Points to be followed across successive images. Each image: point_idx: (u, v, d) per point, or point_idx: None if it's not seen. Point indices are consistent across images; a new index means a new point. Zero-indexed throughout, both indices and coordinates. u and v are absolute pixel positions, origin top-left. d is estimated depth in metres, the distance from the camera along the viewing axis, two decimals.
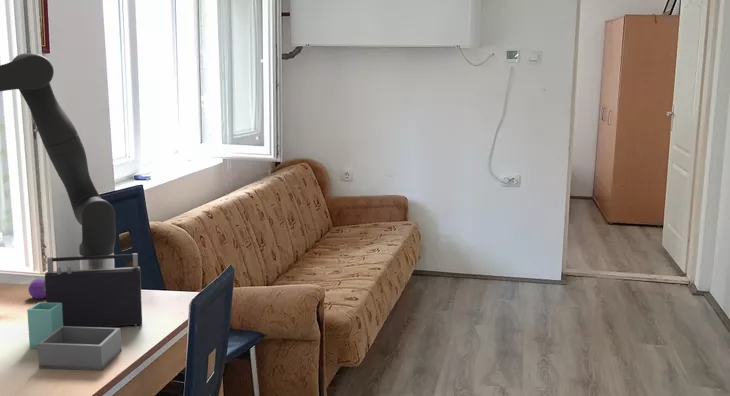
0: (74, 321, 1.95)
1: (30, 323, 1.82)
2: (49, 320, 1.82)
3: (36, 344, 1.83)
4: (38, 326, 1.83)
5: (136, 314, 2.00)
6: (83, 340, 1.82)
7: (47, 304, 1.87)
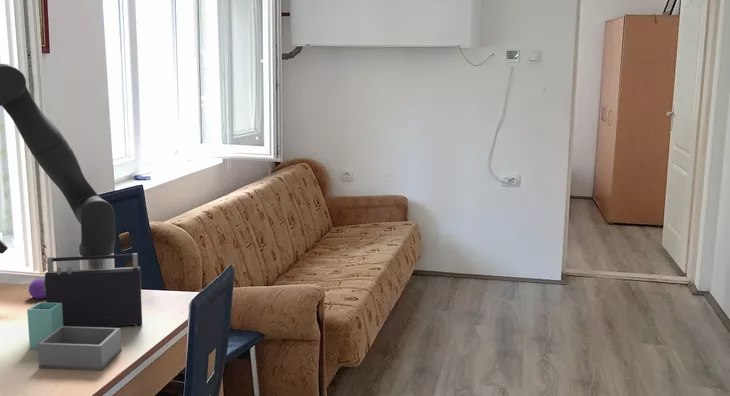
0: (74, 321, 1.95)
1: (30, 323, 1.82)
2: (49, 320, 1.82)
3: (36, 344, 1.83)
4: (38, 326, 1.83)
5: (136, 314, 2.00)
6: (83, 340, 1.82)
7: (47, 304, 1.87)
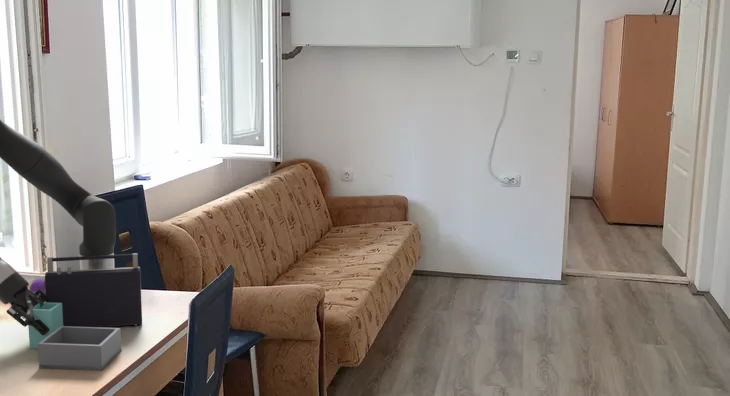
0: (74, 321, 1.95)
1: None
2: (49, 320, 1.82)
3: (36, 344, 1.83)
4: None
5: (136, 314, 2.00)
6: (83, 340, 1.82)
7: (47, 304, 1.87)
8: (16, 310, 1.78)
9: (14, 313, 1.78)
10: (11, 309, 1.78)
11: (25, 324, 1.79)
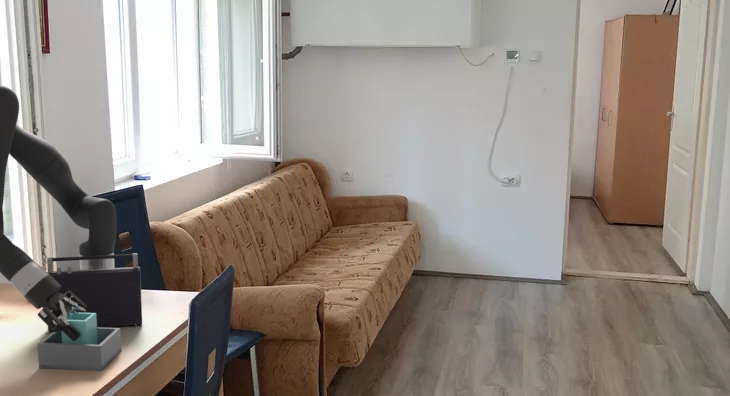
0: None
1: (64, 335, 1.73)
2: (84, 331, 1.73)
3: None
4: None
5: (136, 314, 2.00)
6: None
7: (81, 314, 1.78)
8: (47, 313, 1.68)
9: (45, 316, 1.68)
10: (42, 312, 1.68)
11: (55, 329, 1.69)
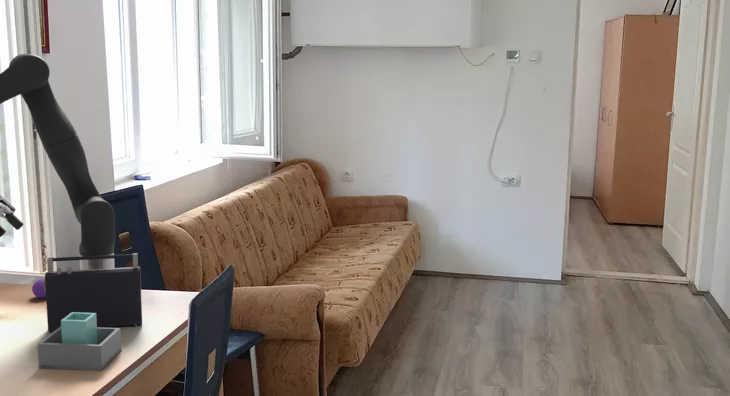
0: None
1: (64, 335, 1.73)
2: (84, 331, 1.73)
3: None
4: (72, 338, 1.73)
5: (136, 314, 2.00)
6: None
7: (81, 314, 1.78)
8: None
9: None
10: None
11: None
